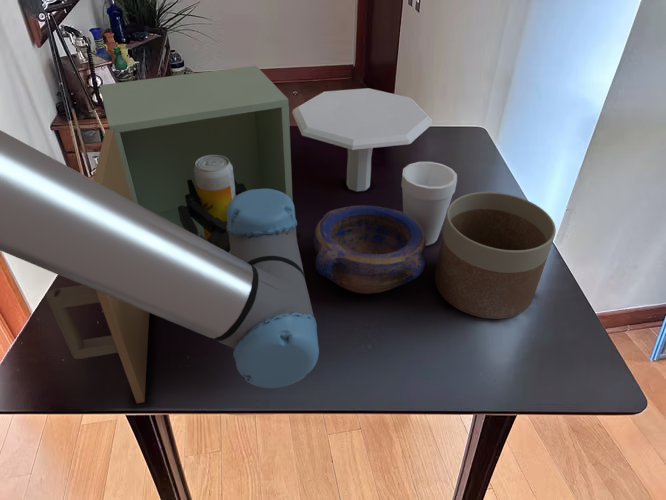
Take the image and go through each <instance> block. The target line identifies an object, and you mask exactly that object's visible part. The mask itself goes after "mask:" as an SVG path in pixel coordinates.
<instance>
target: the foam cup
mask: <svg viewBox="0 0 666 500" xmlns="http://www.w3.org/2000/svg"><path fill="white" fill-rule="evenodd" d="M400 183H401V185H400V186H401V188H402V189H401V191H402V212H403V213H404V214H406V215H408V216H409V217H411V218H412V219H413V220H415V221H416V222H417V223H418V224H419V225H420V227H421V228H422V230H423V232H424V236H425V240H426V245H425V246H430V245H433V244H435V243H436V242H437V241H438V239H439V236H440V234H441V231H442V227H443V226H444V223H445V217H446V212H447V209H448V207H449V205H450V204H451V202H452V198H453V196H454V194H455V193H456V188H457V183H458V174H457V172H456V171H454V169H453V168H451V167H449V166H447V165H445V164H444V163H439V162H435V161H417V162H413V163H408V164H407V165H406V166H405V167H403V168H402V175H401V182H400Z"/></svg>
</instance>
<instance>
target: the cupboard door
mask: <svg viewBox="0 0 666 500" xmlns="http://www.w3.org/2000/svg"><path fill="white" fill-rule="evenodd" d="M92 180H94V181H96V182H98V183H100V184H101V185H103V186H105V187H107V188H109V189H111V190H113V191H115V192H116V193H118V194H120V195H122V196H124V197H126V198H128V199H129V200H131V201H132V199H131V195H130V191H129V187H128V184H127V180H126V176H125V172H124V168H123V165H122V161H121V157H120V153H119V150H118V146H117V142H116V138H115V135H114V131H113V129H109V128H108V129H107V128H106V129H105V130H104V135H103V138H102V144H101V147H100V150H99V155H98V159H97V163H96V167H95V171H94V175H93V179H92ZM45 298H46V300H47V302H48V305H49V307H50V309H51V312H52V313H53V316H54V318H55V320H56V322H57V325H58V328H59V329H60V331H61V333H62V336H63V337H64V341H65V342H66V345H67V347H68V349H69V352H70V354H71V356H72V358H73V359H75V360H82V359H88V358H93V357H94V358H95V357H99V356H106V355H111V354H118V356H119V358H120V361H121V364H122V367H123V370H124V372H125V375H126V378H127V381H128V383H129V386H130V389H131V392H132V395H133V398H134V400H135V403H136V404H142V403H145V401H146V383H147V381H146V379H147V363H148V362H147V361H148V342H149V326H150V325H149V324H150V313H149V312H147V311H144V310H142V309H140V308H137V307H135V306H132V305H130V304H127V303H125V302H123V301H120V300H118V299H115V298H113V297H111V296H108V295H106V294H103V293H101V292H99V291H96V290H94V289H91V288H89V287H87V286H84V285H82V284H80V285H72V286H66V287H59V288H53V289H50V290H48V291H47V292H46V295H45ZM97 303H99V304H100V306H101V309H102V311H103V315H104V317H105V320H106V323H107V325H108V328H109V331H110V334H111V335H105V336H100V337H99V336H98V337H93V338H85V339H83V338H82V336H81V334H80V332H79V329H78V327H77V325H76V322H75V320H74V318H73V314H72V312H71V310H70V308H71V307H77V306H84V305H91V304H97Z"/></svg>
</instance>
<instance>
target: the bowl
mask: <svg viewBox="0 0 666 500" xmlns="http://www.w3.org/2000/svg"><path fill="white" fill-rule="evenodd" d="M312 240H313V247H314V250H315V253H316V258H315V269H316V271H317V272H318V274H320V275H321V276H323V277H325V278H327V279H328V280H330V281H331V282H333V284H336V285H337V286H339V287H341V288H343V289H345V290H346V291H349V292H352V293H356V294H365V295H367V294H368V295H369V294H379V293H384V292H387V291H389V290H392V289H394V288H395V289H396V288H397V287H400V286H402V285H405V284H407V283H409V282H411V281H413V280H415V279H417V278H418V277H419V276H420V275H421V274H422V272H423V271H424V269H425V264H426V263H425V259H424V257H423V256H424V254H425V251H426V246H427V245H426V240H425V236H424V232H423V230H422V228H421V227H420V225H419V224H418V223H417V222H416V221H415V220H413V219H412V218H411V217H409V216H408V215H406V214H404V213H403V211H400V210H397V209H393V208H388V207H382V206H377V205H365V204H363V205H350V206H344V207H339V208H334V209H331V210H329V211H327V212H325V214H323V216H321V219H320V220H319V221H318V223H317V224H316V226H315V229H314V234H313V237H312Z"/></svg>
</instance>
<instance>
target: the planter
mask: <svg viewBox="0 0 666 500" xmlns="http://www.w3.org/2000/svg"><path fill="white" fill-rule="evenodd" d="M556 230H557V228H556V224H555V222H554V220H553V219H552V217H551V216H550V215H549V214H548V213H547V212H546V211H545V210H544V209H543V208H542V207H540V206H539V205H537V204H535V203H533V202H531V201H530V200H527V199H525V198H522V197H519V196H517V195H514V194H509V193H503V192H495V191H477V192H470V193H467V194H464V195H461V196H459V197H457V198H455V199H454V200H453V201H451V202H450V204H449V207H448V209H447V212H446V216H445V219H444V222H443V229H442V235H441V240H440V245H439V252H438V258H437V262H436V267H435V273H434V283H435V286H436V289H437V291H438V293H439V294H440V295H441V297H442V298H443V299H444V300H445V301H446V302H447V303H448V304H449V305H450V306H452V307H454V308H455V309H457V310H459V311H461V312H463V313H466V314H468V315H470V316H474V317H478V318H483V319H491V320H492V319H493V320H497V319H498V320H499V319H500V320H501V319H508V318H513V317H516V316H518V315H520V314H523V312H525V311H526V310H527V309H529V307H530V306H531V304H532V303H533V300H534V298H535V294H536V292H537V289H538V286H539V283H540V280H541V278H542V275H543V273H544V268H545V266H546V263H547V260H548V257H549V254H550V251H551V249H552V246H553V243H554V239H555V237H556V233H557V231H556Z"/></svg>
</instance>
